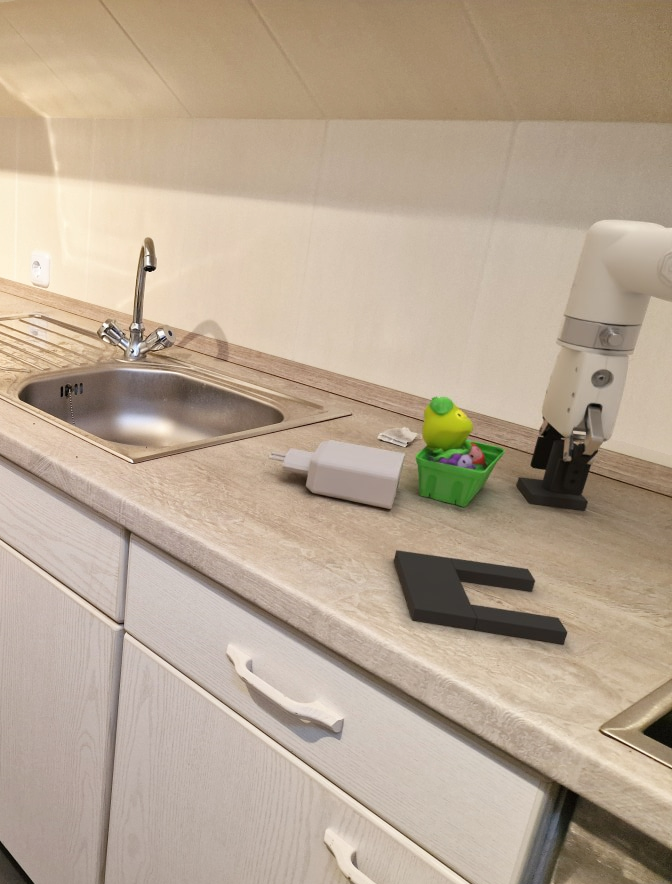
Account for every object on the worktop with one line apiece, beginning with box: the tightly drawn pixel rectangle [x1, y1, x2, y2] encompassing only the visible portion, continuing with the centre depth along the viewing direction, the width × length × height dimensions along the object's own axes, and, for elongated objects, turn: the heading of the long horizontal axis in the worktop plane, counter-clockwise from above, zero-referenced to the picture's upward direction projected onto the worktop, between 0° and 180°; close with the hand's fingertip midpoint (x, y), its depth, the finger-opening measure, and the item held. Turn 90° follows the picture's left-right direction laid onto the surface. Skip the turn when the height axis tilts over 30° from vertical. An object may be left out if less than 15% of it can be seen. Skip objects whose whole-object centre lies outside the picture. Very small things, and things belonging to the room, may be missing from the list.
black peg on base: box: [515, 440, 589, 511], centre depth 102 cm, size 6×6×7 cm
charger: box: [267, 439, 406, 510], centre depth 102 cm, size 5×9×15 cm
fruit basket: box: [415, 396, 506, 508], centre depth 102 cm, size 11×9×11 cm
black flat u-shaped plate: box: [393, 549, 569, 645], centre depth 78 cm, size 12×12×1 cm
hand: (554, 479), depth 102 cm, fingers open, 7 cm apart
